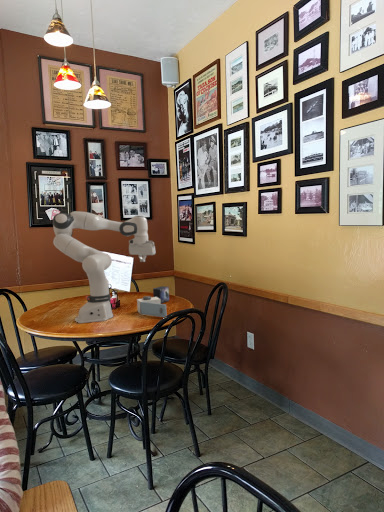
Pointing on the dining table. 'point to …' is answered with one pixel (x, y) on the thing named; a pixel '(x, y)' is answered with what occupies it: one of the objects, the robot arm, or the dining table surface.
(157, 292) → the small box
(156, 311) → the case door
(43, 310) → the dining table surface
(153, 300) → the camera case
